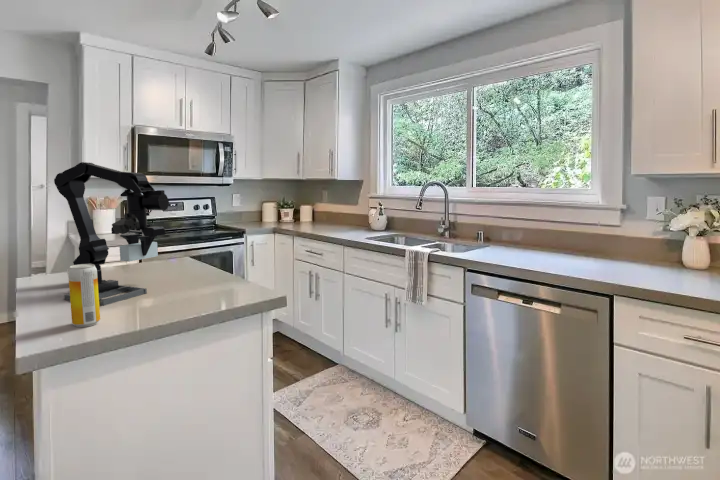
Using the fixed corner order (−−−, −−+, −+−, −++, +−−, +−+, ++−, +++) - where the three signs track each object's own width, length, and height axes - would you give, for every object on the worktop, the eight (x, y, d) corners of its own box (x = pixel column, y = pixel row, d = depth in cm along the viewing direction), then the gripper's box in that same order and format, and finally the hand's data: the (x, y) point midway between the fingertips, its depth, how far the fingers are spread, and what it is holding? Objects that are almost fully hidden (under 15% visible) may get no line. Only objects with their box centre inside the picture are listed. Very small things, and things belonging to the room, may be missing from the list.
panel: (120, 260, 144) (119, 245, 144) (149, 255, 155) (148, 241, 155) (129, 261, 143) (128, 246, 142) (157, 256, 154) (157, 242, 153)
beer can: (93, 318, 114) (89, 262, 112) (105, 323, 110) (101, 265, 109) (67, 324, 109) (63, 266, 107) (79, 329, 106) (74, 269, 104)
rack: (62, 300, 131) (61, 288, 131) (109, 288, 146) (108, 278, 145) (101, 306, 125) (101, 294, 125) (146, 293, 140) (146, 282, 140)
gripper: (95, 210, 143) (98, 257, 145) (137, 212, 136) (140, 261, 138) (124, 208, 153) (127, 252, 155) (165, 210, 147) (167, 255, 149)
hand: (139, 255), depth 149 cm, fingers closed on panel, 4 cm apart
